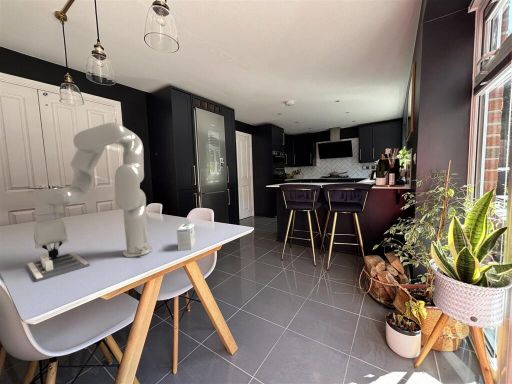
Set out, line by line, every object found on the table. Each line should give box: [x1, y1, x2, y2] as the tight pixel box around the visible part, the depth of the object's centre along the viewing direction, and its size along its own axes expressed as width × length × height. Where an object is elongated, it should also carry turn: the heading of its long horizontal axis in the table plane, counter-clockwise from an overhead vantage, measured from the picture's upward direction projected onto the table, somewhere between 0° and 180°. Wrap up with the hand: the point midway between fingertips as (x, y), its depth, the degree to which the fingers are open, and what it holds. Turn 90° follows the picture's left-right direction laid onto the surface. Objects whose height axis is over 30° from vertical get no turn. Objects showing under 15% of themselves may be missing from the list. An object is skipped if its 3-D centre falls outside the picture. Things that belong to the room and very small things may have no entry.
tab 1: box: [39, 253, 49, 263], centre depth 93 cm, size 2×2×4 cm
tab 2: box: [40, 256, 49, 267], centre depth 89 cm, size 2×2×4 cm
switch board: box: [26, 251, 90, 282], centre depth 92 cm, size 24×16×2 cm, turn 53°
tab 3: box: [44, 260, 53, 271], centre depth 85 cm, size 2×2×4 cm
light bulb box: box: [176, 223, 196, 251], centre depth 110 cm, size 11×7×11 cm, turn 5°
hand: (54, 258), depth 96 cm, fingers closed
